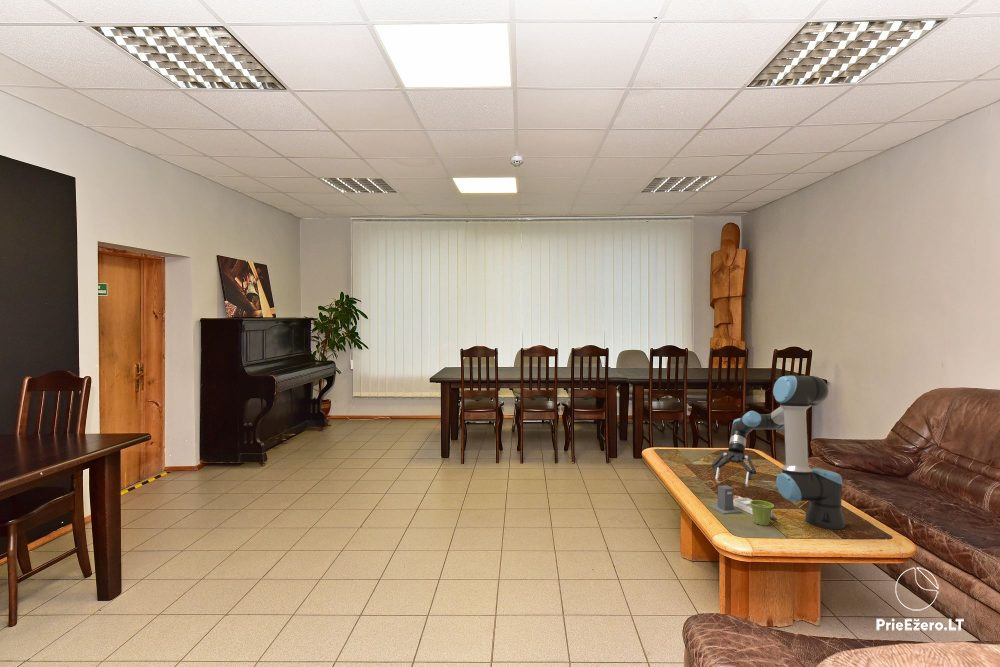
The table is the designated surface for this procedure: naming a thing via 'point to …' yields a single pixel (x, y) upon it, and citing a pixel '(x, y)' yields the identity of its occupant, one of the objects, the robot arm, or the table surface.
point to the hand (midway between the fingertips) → (731, 482)
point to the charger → (725, 497)
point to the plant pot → (761, 511)
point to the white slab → (746, 505)
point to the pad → (725, 510)
